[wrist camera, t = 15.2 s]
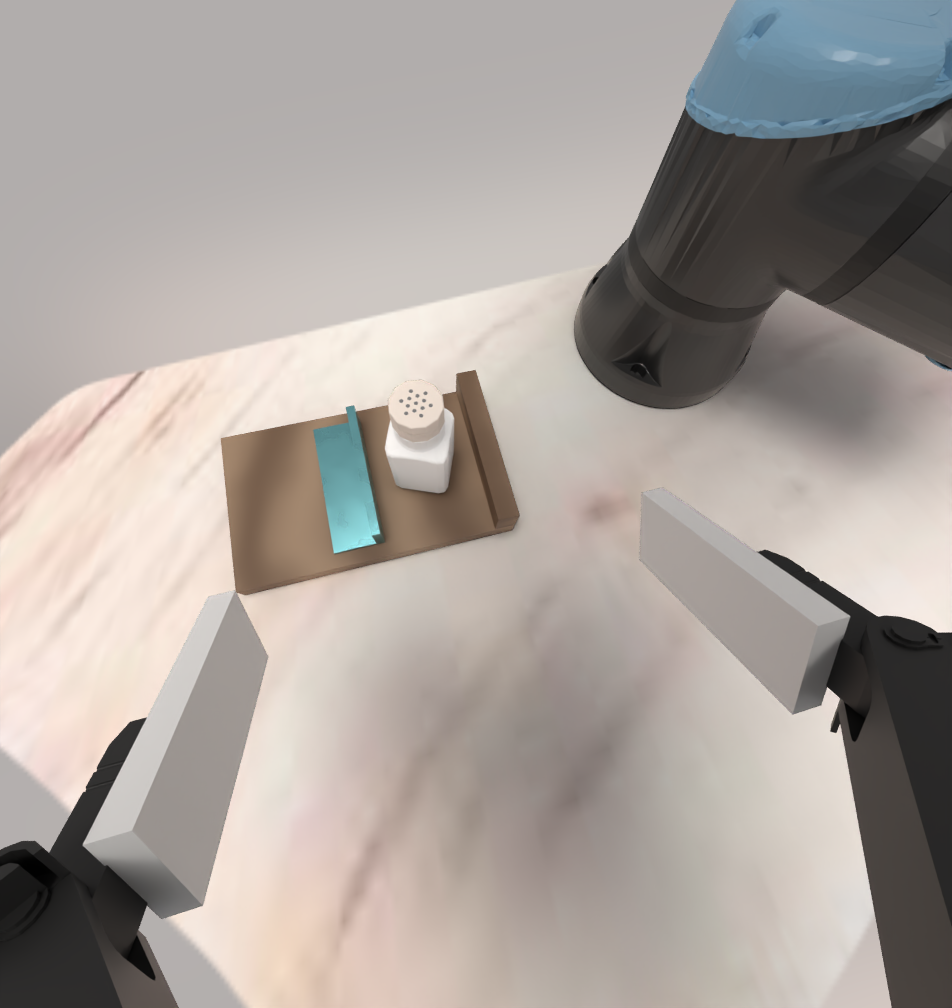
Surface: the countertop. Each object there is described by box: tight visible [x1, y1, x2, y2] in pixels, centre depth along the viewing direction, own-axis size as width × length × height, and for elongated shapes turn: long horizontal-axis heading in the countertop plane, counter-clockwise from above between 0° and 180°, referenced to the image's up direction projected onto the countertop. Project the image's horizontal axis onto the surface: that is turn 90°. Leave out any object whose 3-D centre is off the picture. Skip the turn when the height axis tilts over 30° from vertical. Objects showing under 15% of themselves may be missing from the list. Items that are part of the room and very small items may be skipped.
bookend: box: [313, 406, 385, 554], centre depth 32 cm, size 4×10×2 cm, turn 15°
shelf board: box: [221, 370, 519, 595], centre depth 33 cm, size 20×12×4 cm, turn 105°
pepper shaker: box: [385, 380, 454, 493], centre depth 30 cm, size 4×4×10 cm
